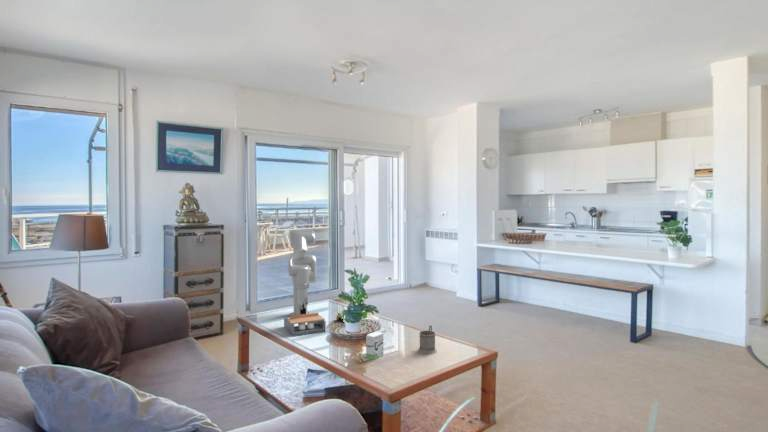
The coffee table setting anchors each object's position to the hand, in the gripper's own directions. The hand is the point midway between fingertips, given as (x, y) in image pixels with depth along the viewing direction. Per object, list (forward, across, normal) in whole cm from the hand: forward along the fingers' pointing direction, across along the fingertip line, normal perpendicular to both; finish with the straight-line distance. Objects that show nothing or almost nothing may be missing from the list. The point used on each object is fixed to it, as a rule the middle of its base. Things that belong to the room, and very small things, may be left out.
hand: (303, 315), depth 265 cm
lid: (+2, +7, 0) cm, 7 cm away
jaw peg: (+8, +9, -3) cm, 13 cm away
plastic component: (+9, -7, +36) cm, 37 cm away
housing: (+8, +3, 0) cm, 9 cm away
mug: (+9, +68, +50) cm, 85 cm away
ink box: (+9, +65, +20) cm, 69 cm away
